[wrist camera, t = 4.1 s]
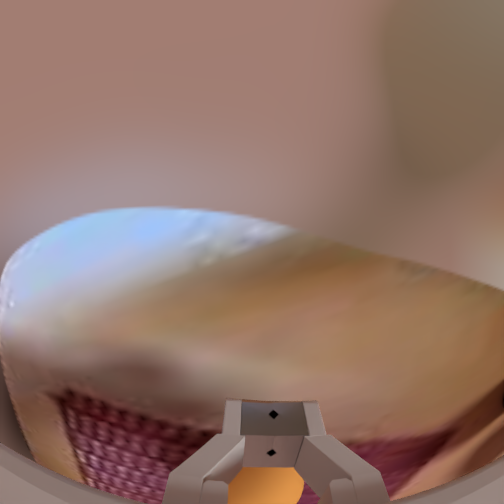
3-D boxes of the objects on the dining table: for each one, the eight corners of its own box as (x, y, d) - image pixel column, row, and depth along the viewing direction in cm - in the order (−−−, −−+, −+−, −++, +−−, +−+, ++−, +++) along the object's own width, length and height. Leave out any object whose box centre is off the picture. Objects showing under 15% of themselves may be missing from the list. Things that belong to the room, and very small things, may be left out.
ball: (291, 470, 18) (297, 533, 12) (212, 467, 17) (203, 530, 12) (306, 422, 16) (320, 498, 10) (210, 418, 16) (197, 496, 10)
